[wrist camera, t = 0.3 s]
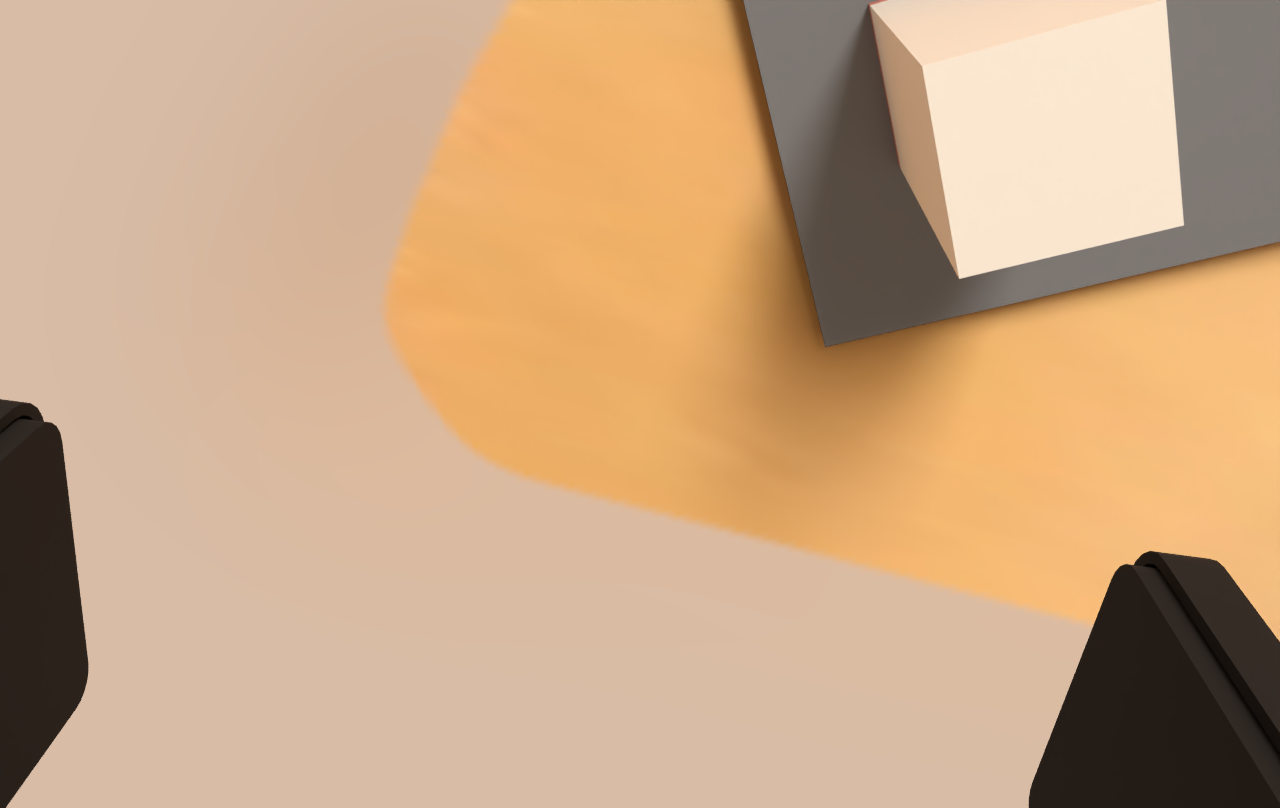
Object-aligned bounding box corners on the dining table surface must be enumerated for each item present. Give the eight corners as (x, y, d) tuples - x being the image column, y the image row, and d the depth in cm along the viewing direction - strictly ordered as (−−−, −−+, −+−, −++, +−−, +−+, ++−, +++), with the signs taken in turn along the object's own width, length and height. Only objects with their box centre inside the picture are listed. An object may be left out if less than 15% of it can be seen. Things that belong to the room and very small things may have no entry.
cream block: (1042, -47, 32) (1165, -1, 23) (1063, 123, 34) (1184, 225, 25) (867, 3, 33) (922, 66, 24) (899, 165, 35) (959, 279, 26)
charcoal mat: (1473, -409, 28) (1493, -415, 27) (1455, 190, 35) (1470, 197, 34) (705, -161, 32) (705, -161, 31) (823, 337, 39) (825, 347, 38)
